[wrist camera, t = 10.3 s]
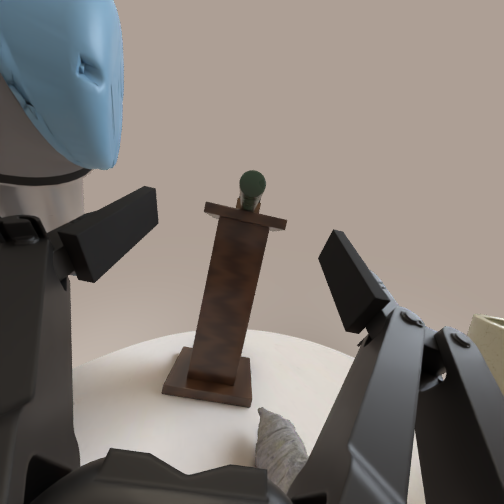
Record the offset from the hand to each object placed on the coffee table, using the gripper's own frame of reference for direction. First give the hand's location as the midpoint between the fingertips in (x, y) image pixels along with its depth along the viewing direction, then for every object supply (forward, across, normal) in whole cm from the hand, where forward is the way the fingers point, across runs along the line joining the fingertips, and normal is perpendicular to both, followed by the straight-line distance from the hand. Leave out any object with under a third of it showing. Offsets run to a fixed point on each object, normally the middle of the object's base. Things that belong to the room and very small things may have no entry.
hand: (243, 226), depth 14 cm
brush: (+13, 0, -4) cm, 14 cm away
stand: (+2, 0, -33) cm, 33 cm away
